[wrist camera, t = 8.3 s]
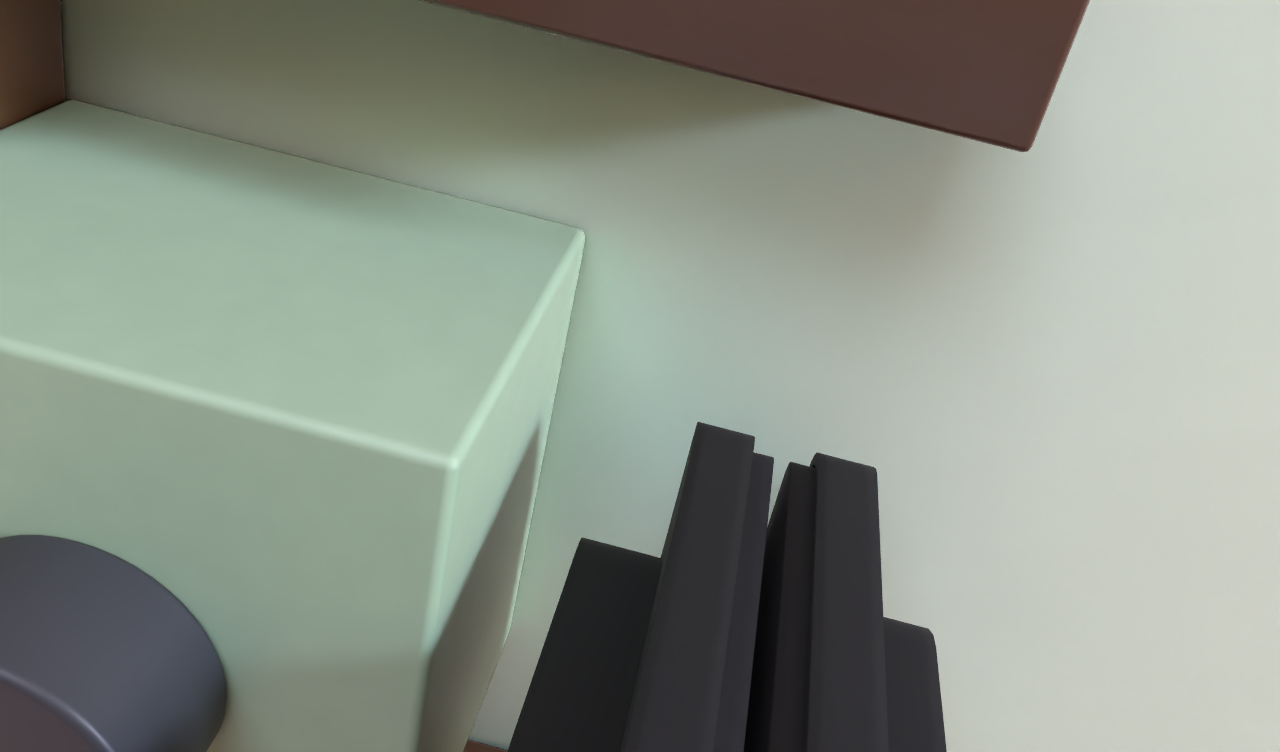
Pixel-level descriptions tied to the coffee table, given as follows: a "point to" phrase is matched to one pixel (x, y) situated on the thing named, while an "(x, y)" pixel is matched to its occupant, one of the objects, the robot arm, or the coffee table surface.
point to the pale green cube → (259, 442)
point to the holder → (743, 55)
